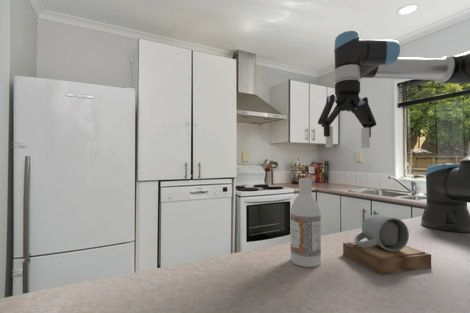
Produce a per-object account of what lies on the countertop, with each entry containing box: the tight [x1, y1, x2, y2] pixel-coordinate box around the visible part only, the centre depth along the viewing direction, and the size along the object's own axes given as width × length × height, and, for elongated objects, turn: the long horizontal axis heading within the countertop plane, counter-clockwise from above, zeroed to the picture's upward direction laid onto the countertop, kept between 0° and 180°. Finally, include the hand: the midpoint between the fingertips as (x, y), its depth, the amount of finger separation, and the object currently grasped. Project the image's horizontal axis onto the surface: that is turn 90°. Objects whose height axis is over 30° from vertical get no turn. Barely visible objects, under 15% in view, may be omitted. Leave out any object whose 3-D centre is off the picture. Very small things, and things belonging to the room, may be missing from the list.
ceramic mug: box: [353, 214, 410, 252], centre depth 63 cm, size 11×8×8 cm
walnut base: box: [342, 240, 432, 276], centre depth 62 cm, size 14×12×3 cm
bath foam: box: [290, 177, 322, 268], centre depth 61 cm, size 7×7×20 cm
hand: (347, 147), depth 82 cm, fingers open, 13 cm apart
